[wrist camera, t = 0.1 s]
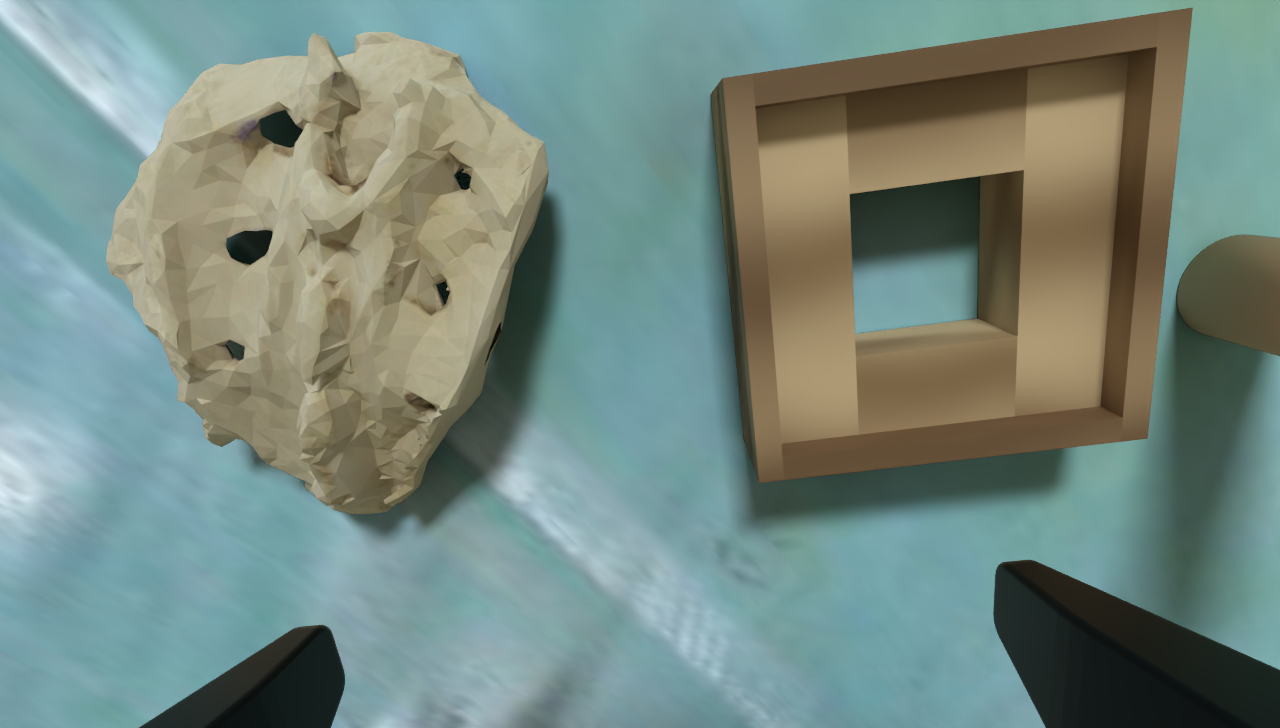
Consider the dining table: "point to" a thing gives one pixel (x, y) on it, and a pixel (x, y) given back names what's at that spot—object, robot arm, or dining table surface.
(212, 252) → the coral
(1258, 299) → the peg
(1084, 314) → the tray box
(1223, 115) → the dining table surface
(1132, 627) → the robot arm
